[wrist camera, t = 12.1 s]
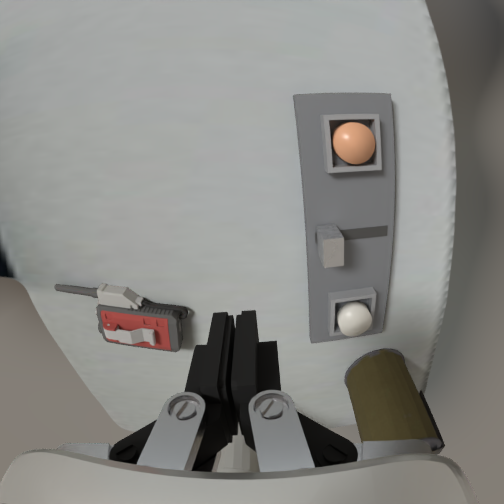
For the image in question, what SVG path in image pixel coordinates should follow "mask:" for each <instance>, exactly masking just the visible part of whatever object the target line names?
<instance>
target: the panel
mask: <svg viewBox="0 0 504 504" xmlns="http://www.w3.org/2000/svg"><path fill="white" fill-rule="evenodd" d="M293 99H294V108H295V116H296V125H297V134H298V144H299V154H300V165H301V176H302V188H303V201H304V215H305V230H306V247H307V267H308V291H309V326H310V340H311V343H319V342H326V341H333V340H340V339H346V338H353V337H359V336H365V335H370V334H376V333H382V329H383V323H384V316H385V310H386V302H387V295H388V287H389V278H390V268H391V257H392V244H393V228H394V205H395V152H394V129H393V113H392V101H391V94H386V93H316V94H297V95H293ZM345 122H355V123H360V124H363V125H365V126H366V127H368V128H369V129H370V130H371V132H372V134H373V136H374V139H375V149H374V152H373V154H372V156H371V157H370V158H369V159H368V160H367V161H366V162H364V163H361V164H351V163H348V162H346V161H344V160H342V159H341V158H339V157H338V156H337V155H336V154H335V153H334V151H333V149H332V146H331V136H332V133H333V131H334V130H335V128H336V127H337V126H339V125H340V124H342V123H345ZM333 224H335V225H336V226H337V228H338V229H339V231H340V232H341V234H342V235H343V237H344V266H337V267H329V268H324V267H323V264H322V262H321V259H320V257H319V254H318V249H317V226H323V225H333ZM351 301H360V302H363V303H364V304H365V305H366V306H367V308H368V310H369V312H370V314H371V316H372V323H371V325H370V327H369V328H368V330H367V331H365V332H364V333H362V334H360V335H358V336H346V335H344V334H343V333H342V332H341V330H340V327H339V324H338V322H337V313H338V311H339V309H340V308H341V307H342V306H343V305H344V304H346V303H348V302H351Z"/></svg>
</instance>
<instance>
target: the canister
mask: <svg viewBox="0 0 504 504" xmlns="http://www.w3.org/2000/svg"><path fill="white" fill-rule="evenodd" d="M345 384H346V386H347V388H348V391H349V395H350V399H351V402H352V406H353V410H354V414H355V418H356V422H357V426H358V430H359V434H360V438H361V442H362V443H363V441H391V440H409V439H419V440H422V441H425V442H426V443H427V444H428V445H429V446H430V447H431V450H432V454H435V455H437V454H439V453H440V452H441V451H442V449H443V448H444V446H445V444H444V442H443V439H442V437H441V434H440V432H439V430H438V427H437V425H436V422H435V420H434V418H433V415H432V413H431V411H430V408H429V406H428V404H427V402H426V400H425V397H424V395H423V393H422V391H420V394H419V393H418V391H417V389H416V386H415V384H414V382H413V380H412V378H411V376H410V374H409V372H408V369H407V367H406V365H405V362H404V357H403V355H402V354H401V353H400V352H398V351H396V350H393V349H380V350H375V351H372V352H370V353H368V354H366V355H364V356H362V357H360V358H359V359H357V360H356V361H355V362H354V363H353V364H352V365H351V366H350V367H349V368H348V370H347V372H346V375H345Z"/></svg>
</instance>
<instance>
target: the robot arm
mask: <svg viewBox="0 0 504 504" xmlns="http://www.w3.org/2000/svg"><path fill="white" fill-rule="evenodd" d="M0 504H479V502H478V499H477V496H476V494H475V492H474V490H473V487H472V485H471V483H470V481H469V479H468V478H467V476H466V474H465V473H464V471H463V470H462V469H461V467H460V466H459V465H458V464H457V463H456V462H454V461H453V460H452V459H450V458H447V457H444V456H440V455H435V454H432V450H431V447H430V446H429V445H428V444H427V443H426V442H425V441H422V440H419V439H409V440H391V441H363V443H362V444H353V443H352V442H350V441H349V440H348V439H346V438H344V437H342V436H340V435H338V434H336V433H334V432H333V431H331V430H329V429H327V428H325V427H323V426H322V425H320V424H318V423H316V422H315V421H313V420H311V419H309V418H308V417H306V416H304V415H303V414H301V413H299V412H297V411H296V408H295V405H294V402H293V400H292V398H291V397H290V396H289V395H288V394H287V393H285V392H282V391H281V385H280V374H279V362H278V351H277V341H269V342H259V338H258V328H257V319H256V311H255V310H252V311H242V314H241V315H237V317H236V328H235V325H234V318H233V315H230V316H228V313H227V312H220V313H213V317H212V322H211V327H210V332H209V337H208V342H207V345H196V346H195V349H194V353H193V358H192V362H191V366H190V370H189V374H188V379H187V383H186V387H185V392H182V393H177V394H175V395H173V396H171V397H170V398H169V399H168V400H167V401H166V402H165V404H164V406H163V408H162V410H161V412H160V414H159V417H158V419H157V420H155V421H154V422H152V423H150V424H149V425H147V426H145V427H143V428H142V429H140V430H138V431H136V432H135V433H133V434H131V435H129V436H128V437H126V438H124V439H122V440H120V441H119V442H117V443H116V444H115V445H113V446H111V445H110V444H109V443H97V444H96V443H94V444H93V443H87V444H86V443H66V444H62V445H60V446H59V447H58V448H57V449H37V450H30V451H26V452H23V453H21V454H20V455H18V456H17V457H16V458H15V459H14V461H13V462H12V463H11V465H10V466H9V468H8V470H7V472H6V473H5V475H4V477H3V479H2V481H1V483H0Z"/></svg>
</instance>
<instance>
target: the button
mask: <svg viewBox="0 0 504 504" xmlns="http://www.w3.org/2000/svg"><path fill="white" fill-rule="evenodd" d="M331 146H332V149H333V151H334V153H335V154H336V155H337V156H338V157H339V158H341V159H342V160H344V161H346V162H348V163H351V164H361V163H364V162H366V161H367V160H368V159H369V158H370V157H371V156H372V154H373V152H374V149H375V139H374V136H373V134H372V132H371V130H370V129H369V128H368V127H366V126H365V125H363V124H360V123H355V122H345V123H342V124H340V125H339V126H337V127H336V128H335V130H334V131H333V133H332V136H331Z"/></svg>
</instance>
